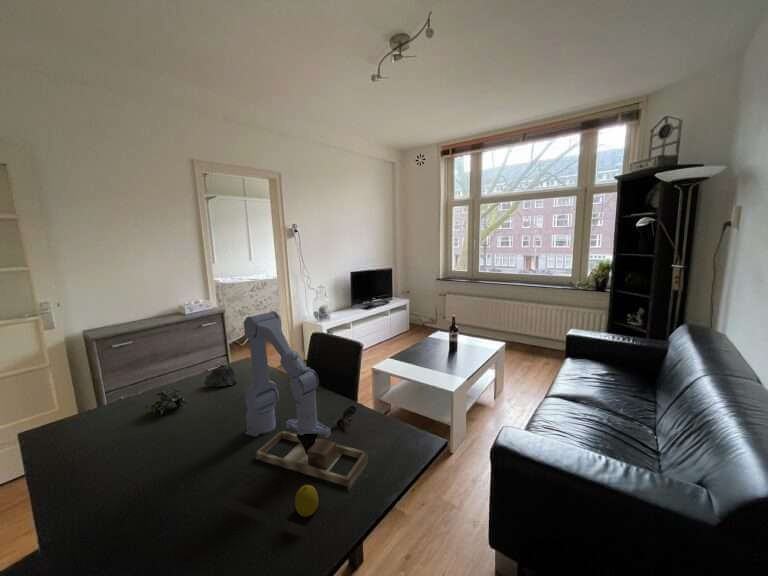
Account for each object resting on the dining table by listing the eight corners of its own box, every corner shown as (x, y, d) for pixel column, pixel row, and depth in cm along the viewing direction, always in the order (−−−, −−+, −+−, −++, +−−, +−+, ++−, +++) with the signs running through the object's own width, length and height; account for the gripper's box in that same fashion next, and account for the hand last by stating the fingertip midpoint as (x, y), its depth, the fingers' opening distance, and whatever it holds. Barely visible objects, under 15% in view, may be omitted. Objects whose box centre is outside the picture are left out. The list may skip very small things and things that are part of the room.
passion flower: (180, 419, 134) (194, 396, 133) (156, 429, 123) (171, 405, 122) (162, 401, 136) (176, 379, 135) (137, 410, 126) (152, 386, 124)
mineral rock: (203, 387, 150) (200, 367, 148) (222, 377, 160) (219, 358, 158) (223, 391, 145) (221, 370, 144) (242, 381, 155) (239, 361, 154)
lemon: (298, 506, 82) (296, 479, 81) (320, 504, 83) (318, 477, 81) (294, 526, 77) (291, 496, 75) (317, 523, 77) (315, 494, 76)
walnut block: (308, 465, 94) (307, 450, 94) (320, 452, 100) (318, 438, 99) (326, 470, 92) (325, 455, 91) (336, 457, 98) (335, 442, 97)
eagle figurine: (357, 430, 112) (361, 411, 120) (345, 416, 110) (349, 398, 118) (340, 439, 114) (345, 420, 122) (328, 425, 112) (333, 407, 120)
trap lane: (256, 463, 99) (255, 452, 98) (282, 439, 109) (281, 430, 109) (348, 491, 86) (348, 480, 86) (367, 462, 97) (367, 451, 97)
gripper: (277, 414, 94) (281, 455, 97) (320, 423, 89) (323, 467, 91) (293, 402, 101) (296, 441, 103) (333, 410, 95) (335, 451, 98)
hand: (309, 452), depth 98 cm, fingers closed
